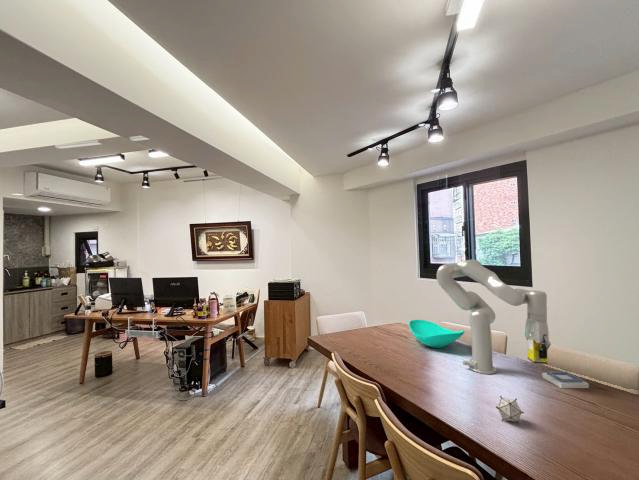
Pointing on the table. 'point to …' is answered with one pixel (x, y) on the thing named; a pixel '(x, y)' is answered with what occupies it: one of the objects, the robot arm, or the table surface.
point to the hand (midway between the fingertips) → (537, 355)
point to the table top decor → (433, 333)
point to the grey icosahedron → (509, 409)
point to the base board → (565, 380)
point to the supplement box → (535, 352)
